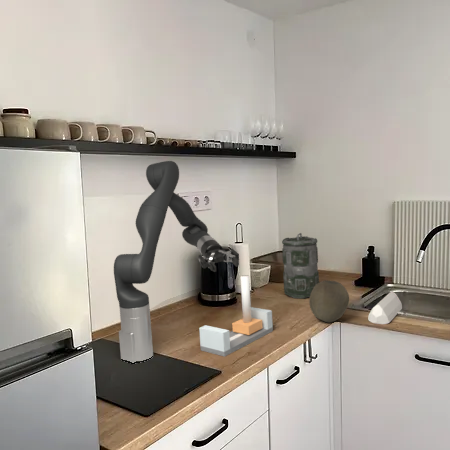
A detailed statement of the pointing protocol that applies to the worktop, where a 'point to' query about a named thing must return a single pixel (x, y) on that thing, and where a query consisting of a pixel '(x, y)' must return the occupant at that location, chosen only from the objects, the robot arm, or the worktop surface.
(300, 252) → the canister
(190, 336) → the worktop surface
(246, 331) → the carriage
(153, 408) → the worktop surface
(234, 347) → the rail track
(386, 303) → the crystal
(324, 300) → the cantaloupe
